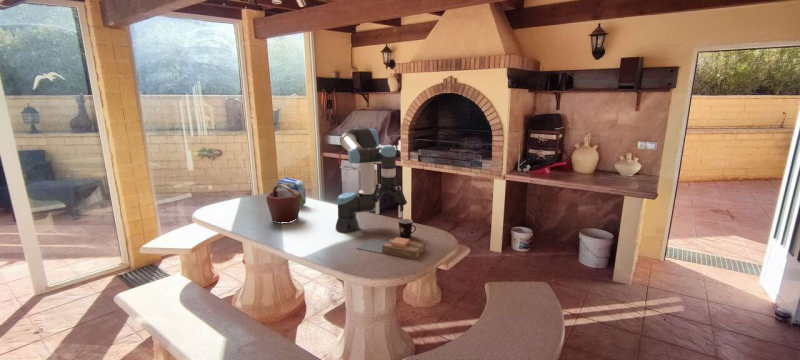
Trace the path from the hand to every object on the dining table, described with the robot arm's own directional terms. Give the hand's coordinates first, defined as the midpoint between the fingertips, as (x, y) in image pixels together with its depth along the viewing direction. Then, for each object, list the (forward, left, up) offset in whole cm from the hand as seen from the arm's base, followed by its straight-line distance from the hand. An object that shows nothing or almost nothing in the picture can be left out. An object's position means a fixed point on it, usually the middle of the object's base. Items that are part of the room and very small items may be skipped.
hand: (388, 215), depth 202 cm
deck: (-10, +4, -23) cm, 26 cm away
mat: (-10, -14, -23) cm, 29 cm away
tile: (-10, +2, -19) cm, 22 cm away
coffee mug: (-30, -3, -23) cm, 38 cm away
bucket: (-25, -93, -24) cm, 99 cm away
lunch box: (-57, -114, -24) cm, 129 cm away
